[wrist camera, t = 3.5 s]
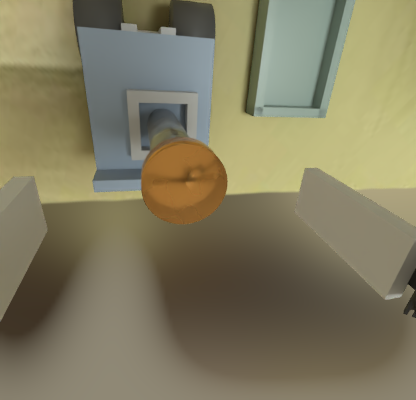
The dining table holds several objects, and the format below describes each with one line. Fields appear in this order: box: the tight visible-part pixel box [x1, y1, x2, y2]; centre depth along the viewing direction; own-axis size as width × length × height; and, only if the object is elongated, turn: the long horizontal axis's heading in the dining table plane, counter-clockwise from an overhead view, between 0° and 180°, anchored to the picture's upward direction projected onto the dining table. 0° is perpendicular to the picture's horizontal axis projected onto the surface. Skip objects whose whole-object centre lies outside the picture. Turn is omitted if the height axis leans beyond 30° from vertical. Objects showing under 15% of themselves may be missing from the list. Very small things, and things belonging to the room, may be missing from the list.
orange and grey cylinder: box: [141, 108, 227, 224], centre depth 21 cm, size 5×5×16 cm
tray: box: [246, 0, 355, 118], centre depth 34 cm, size 16×11×3 cm
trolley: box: [73, 0, 215, 192], centre depth 29 cm, size 18×14×12 cm
